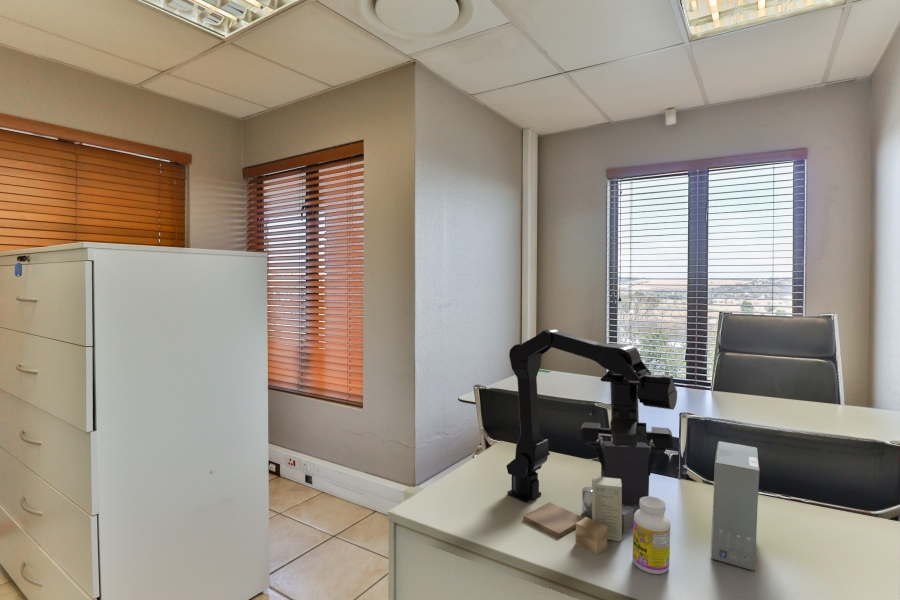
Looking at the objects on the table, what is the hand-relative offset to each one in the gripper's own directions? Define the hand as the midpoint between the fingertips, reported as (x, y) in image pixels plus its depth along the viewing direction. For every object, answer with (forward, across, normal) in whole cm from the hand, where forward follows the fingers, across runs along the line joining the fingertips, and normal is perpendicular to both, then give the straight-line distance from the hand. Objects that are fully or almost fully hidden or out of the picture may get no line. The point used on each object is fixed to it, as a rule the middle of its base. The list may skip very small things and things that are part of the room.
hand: (626, 472), depth 103 cm
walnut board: (+13, -16, -1) cm, 20 cm away
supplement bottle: (+14, +4, -11) cm, 18 cm away
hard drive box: (+14, +21, +2) cm, 25 cm away
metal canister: (+13, -8, +5) cm, 16 cm away
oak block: (+13, -7, -8) cm, 17 cm away
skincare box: (+13, -4, -3) cm, 14 cm away
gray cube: (+13, -2, +3) cm, 14 cm away
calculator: (+13, -1, +15) cm, 20 cm away
